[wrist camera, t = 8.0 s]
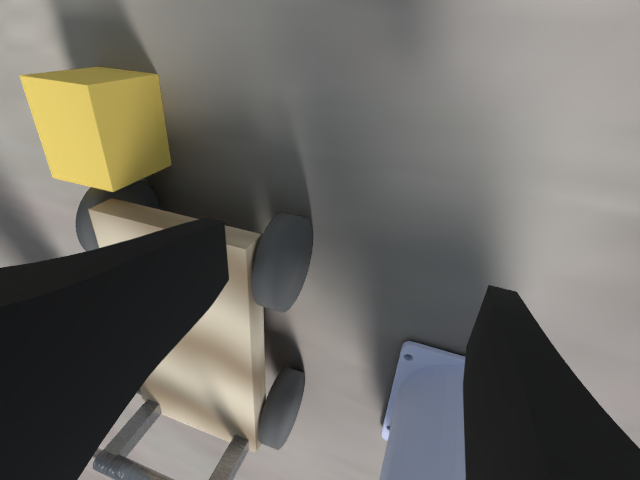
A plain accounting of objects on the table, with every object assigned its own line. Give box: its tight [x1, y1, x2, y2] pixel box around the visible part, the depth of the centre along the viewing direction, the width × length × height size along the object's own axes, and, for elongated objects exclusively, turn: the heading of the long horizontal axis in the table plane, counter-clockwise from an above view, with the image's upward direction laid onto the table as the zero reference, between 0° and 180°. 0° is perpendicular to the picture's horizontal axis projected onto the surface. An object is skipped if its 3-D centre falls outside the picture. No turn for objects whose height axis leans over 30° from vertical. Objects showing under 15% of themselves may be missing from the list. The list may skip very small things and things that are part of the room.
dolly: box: [76, 181, 313, 480], centre depth 22 cm, size 17×12×10 cm
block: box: [19, 67, 172, 192], centre depth 20 cm, size 5×4×4 cm
